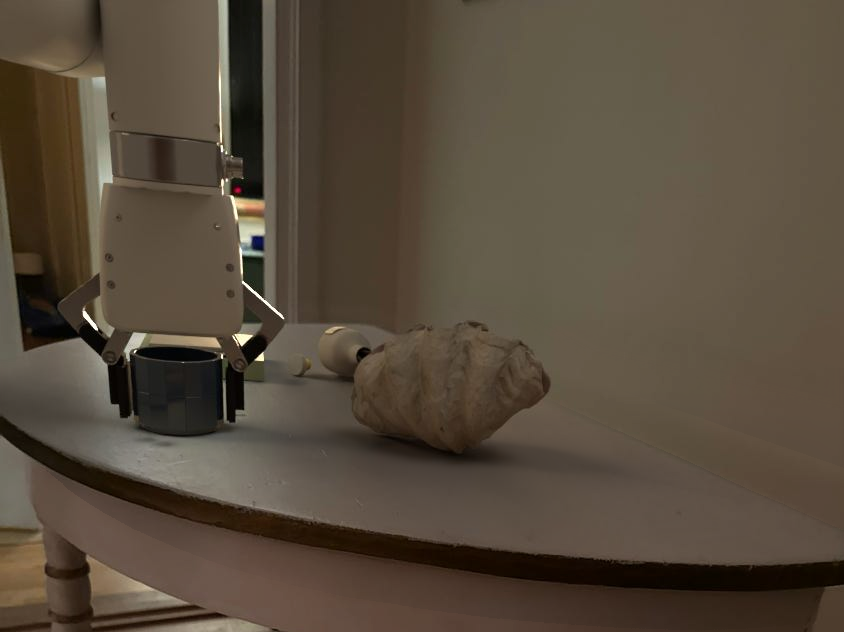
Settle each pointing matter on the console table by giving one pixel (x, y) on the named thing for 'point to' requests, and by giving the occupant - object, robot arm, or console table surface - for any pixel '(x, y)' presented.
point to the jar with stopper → (335, 352)
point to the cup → (177, 389)
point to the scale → (251, 373)
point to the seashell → (447, 385)
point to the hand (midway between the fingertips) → (179, 415)
